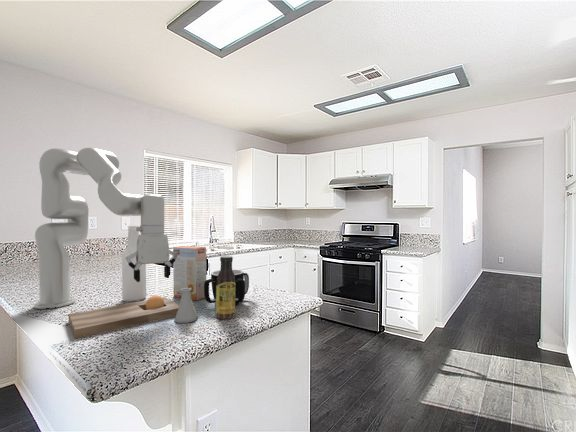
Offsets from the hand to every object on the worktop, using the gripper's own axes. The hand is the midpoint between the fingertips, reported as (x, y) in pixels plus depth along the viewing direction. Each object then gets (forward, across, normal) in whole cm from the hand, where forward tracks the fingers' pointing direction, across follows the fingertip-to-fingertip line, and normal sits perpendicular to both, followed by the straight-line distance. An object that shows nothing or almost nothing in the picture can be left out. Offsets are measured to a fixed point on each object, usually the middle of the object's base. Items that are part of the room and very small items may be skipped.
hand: (152, 279), depth 106 cm
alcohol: (+12, 0, +24) cm, 26 cm away
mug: (+11, +25, -8) cm, 29 cm away
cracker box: (+12, +18, +10) cm, 24 cm away
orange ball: (+9, +1, -1) cm, 9 cm away
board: (+12, -8, 0) cm, 14 cm away
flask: (+12, +6, -16) cm, 20 cm away
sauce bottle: (+11, +17, -22) cm, 30 cm away
